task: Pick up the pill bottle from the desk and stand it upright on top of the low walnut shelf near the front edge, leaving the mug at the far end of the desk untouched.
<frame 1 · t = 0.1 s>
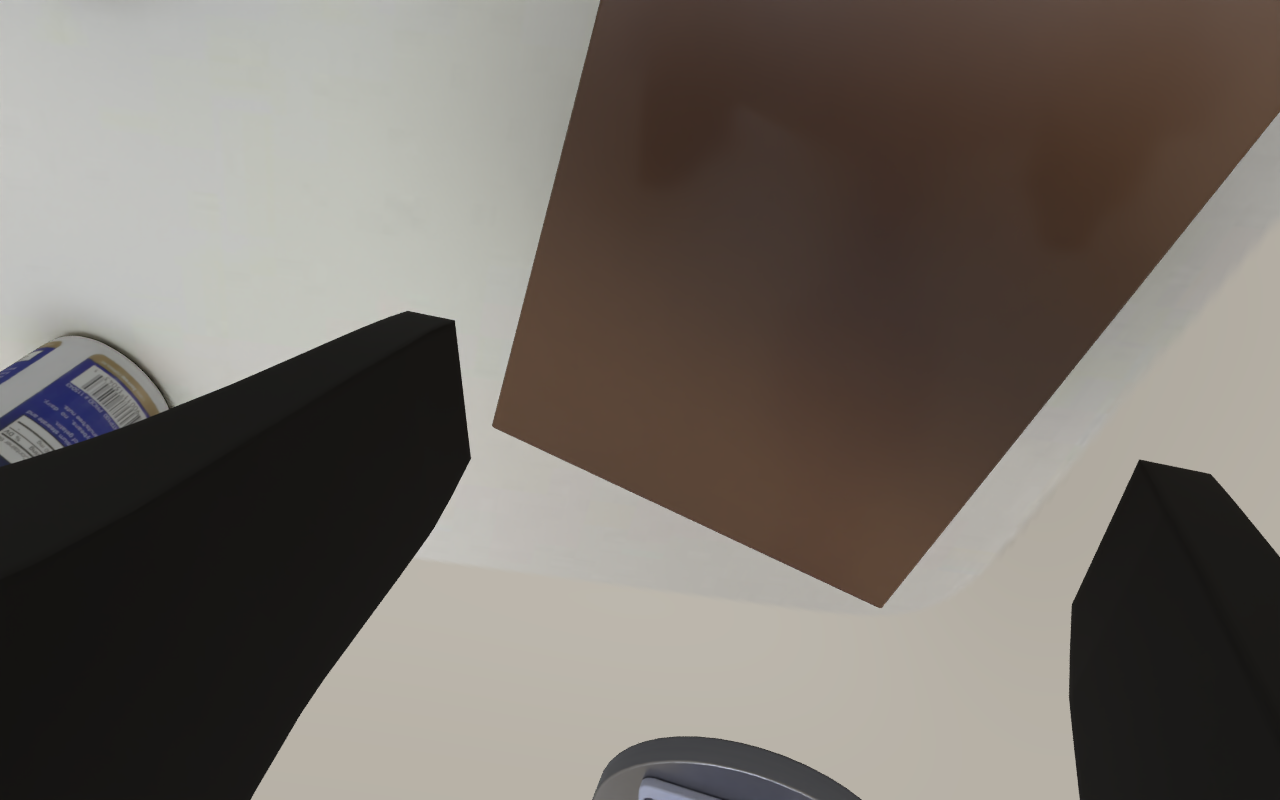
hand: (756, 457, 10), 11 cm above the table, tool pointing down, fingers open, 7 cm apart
shelf: (814, 253, 13), on the table
pill bottle: (119, 392, 32), on the table
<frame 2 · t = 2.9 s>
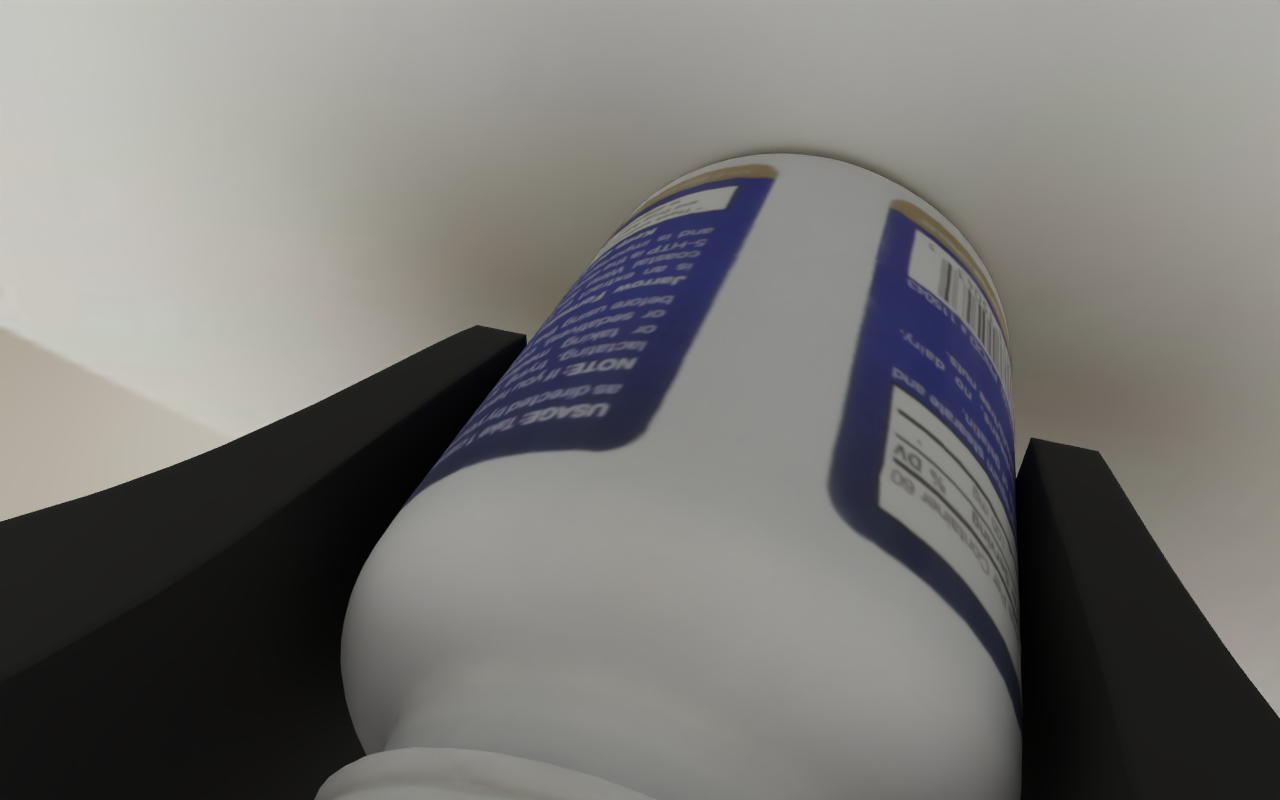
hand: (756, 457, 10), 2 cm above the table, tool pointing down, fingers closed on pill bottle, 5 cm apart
pill bottle: (795, 336, 12), on the table, touching gripper
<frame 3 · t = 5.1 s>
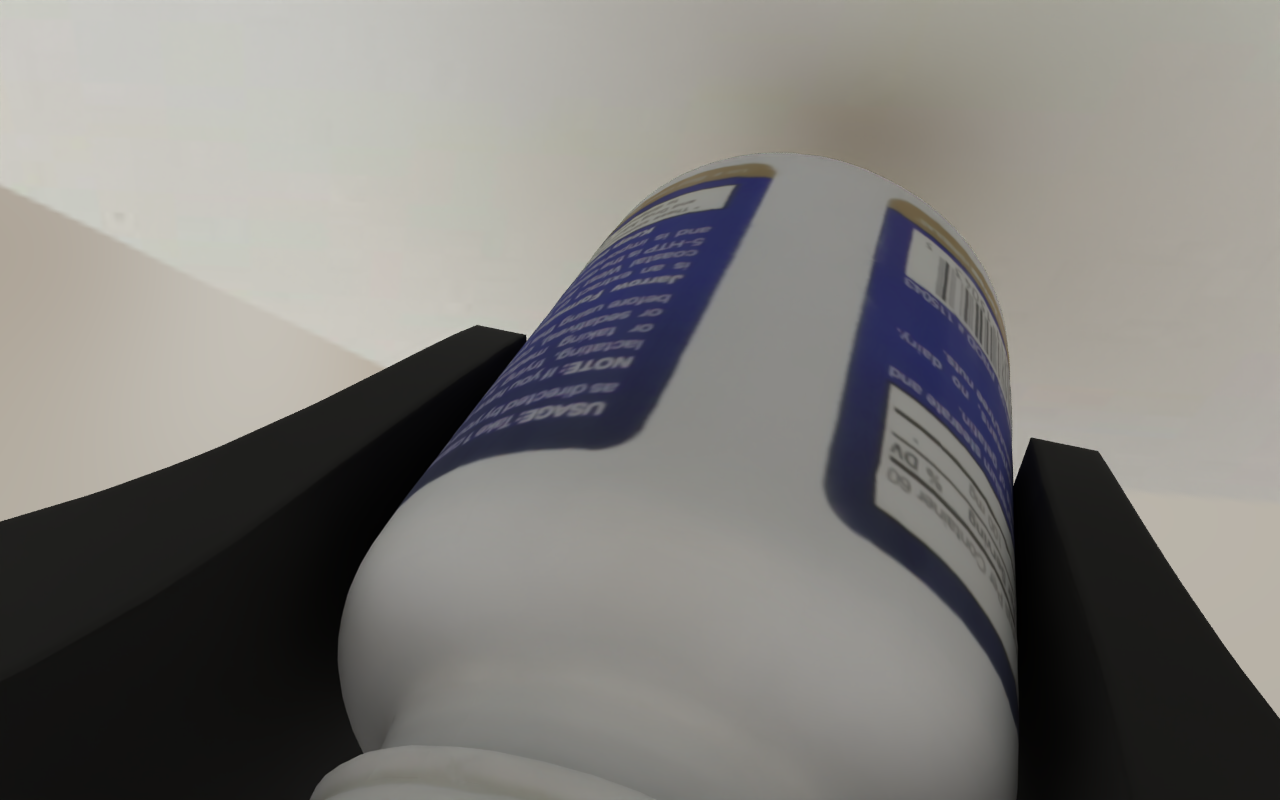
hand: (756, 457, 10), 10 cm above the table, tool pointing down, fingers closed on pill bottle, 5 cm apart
pill bottle: (793, 335, 12), point 8 cm above the table, touching gripper
when the fingers open (9 cm above the table, at t = 7.5 s): pill bottle stays where it is, resting on shelf.
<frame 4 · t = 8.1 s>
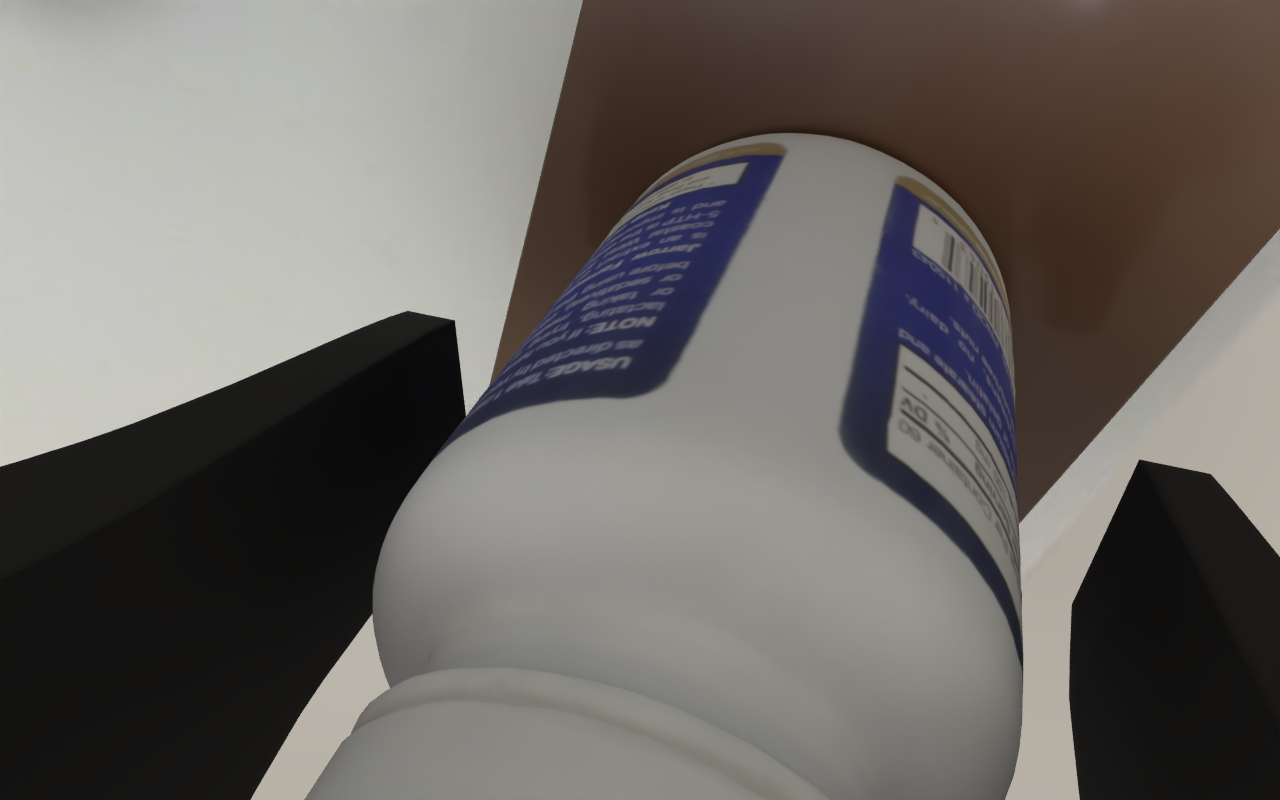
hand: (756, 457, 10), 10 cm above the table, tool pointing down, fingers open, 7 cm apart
shelf: (802, 324, 12), on the table
pill bottle: (801, 313, 12), point 7 cm above the table, touching shelf
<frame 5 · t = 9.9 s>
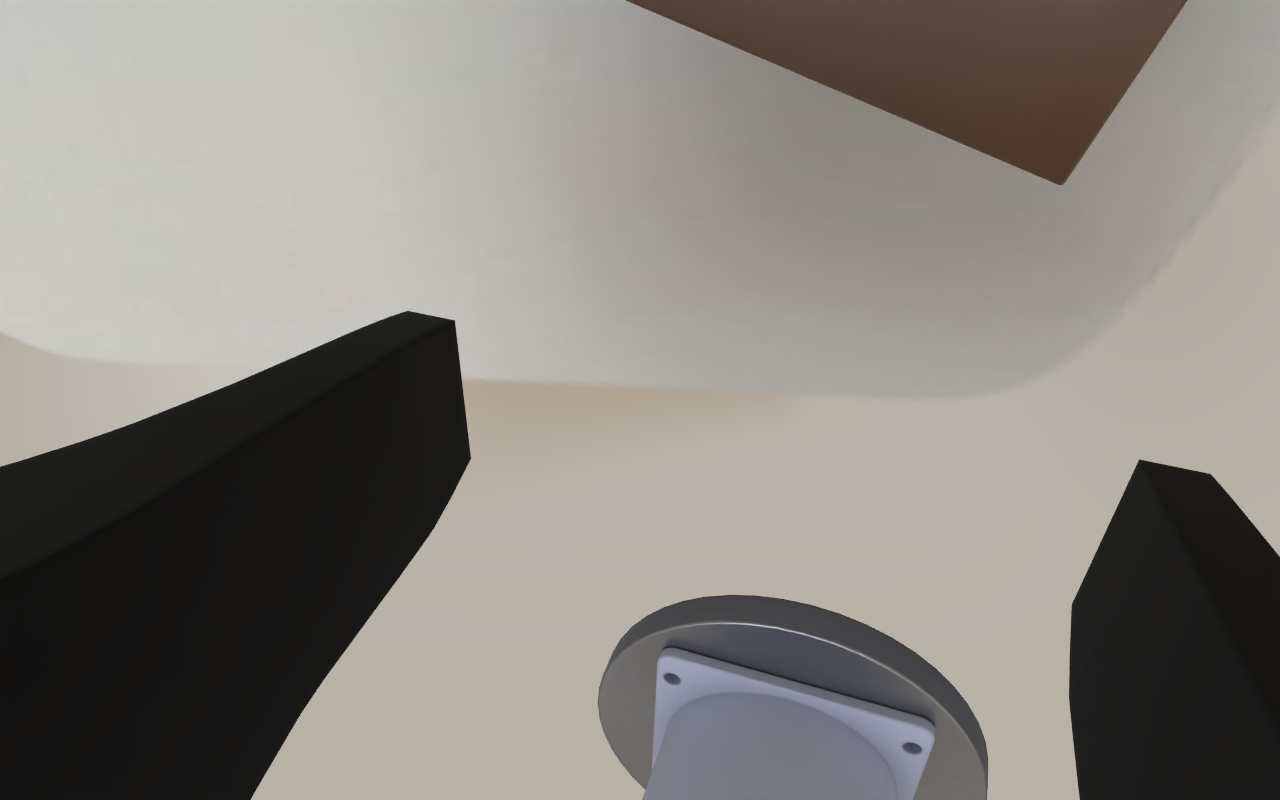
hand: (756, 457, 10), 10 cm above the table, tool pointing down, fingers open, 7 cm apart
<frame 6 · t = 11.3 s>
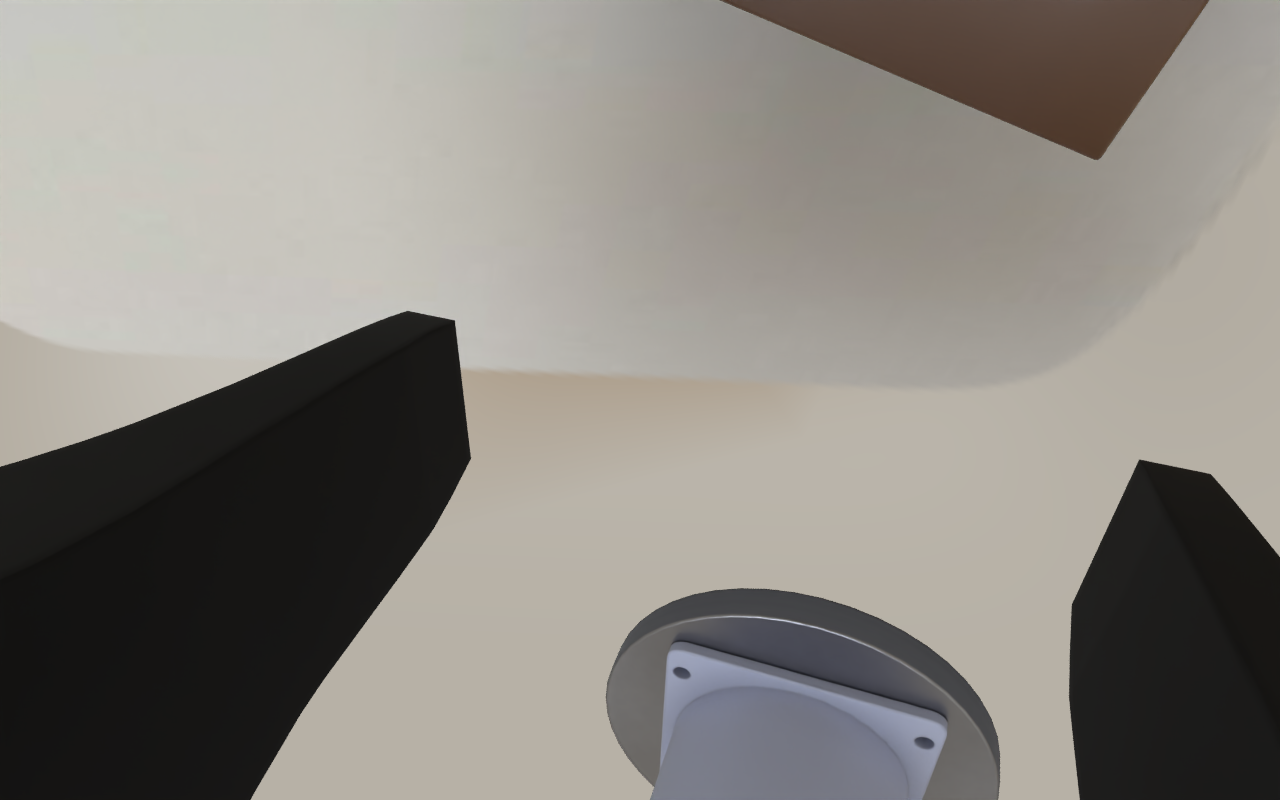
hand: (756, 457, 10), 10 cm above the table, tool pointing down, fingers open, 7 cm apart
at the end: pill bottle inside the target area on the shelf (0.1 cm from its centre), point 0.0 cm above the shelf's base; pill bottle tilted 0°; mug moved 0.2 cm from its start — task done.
